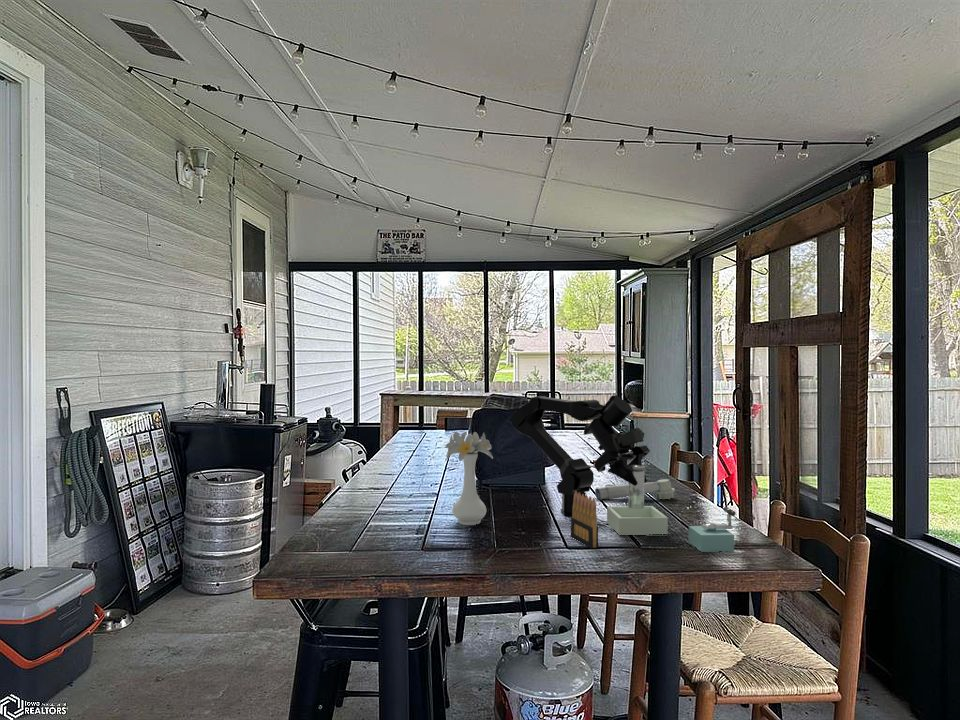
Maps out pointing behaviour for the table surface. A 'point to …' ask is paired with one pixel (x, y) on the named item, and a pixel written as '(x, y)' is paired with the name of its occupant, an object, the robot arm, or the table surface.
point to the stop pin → (637, 487)
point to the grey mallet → (659, 488)
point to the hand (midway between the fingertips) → (641, 483)
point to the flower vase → (468, 476)
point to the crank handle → (721, 526)
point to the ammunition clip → (584, 520)
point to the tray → (637, 520)
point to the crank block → (711, 539)
